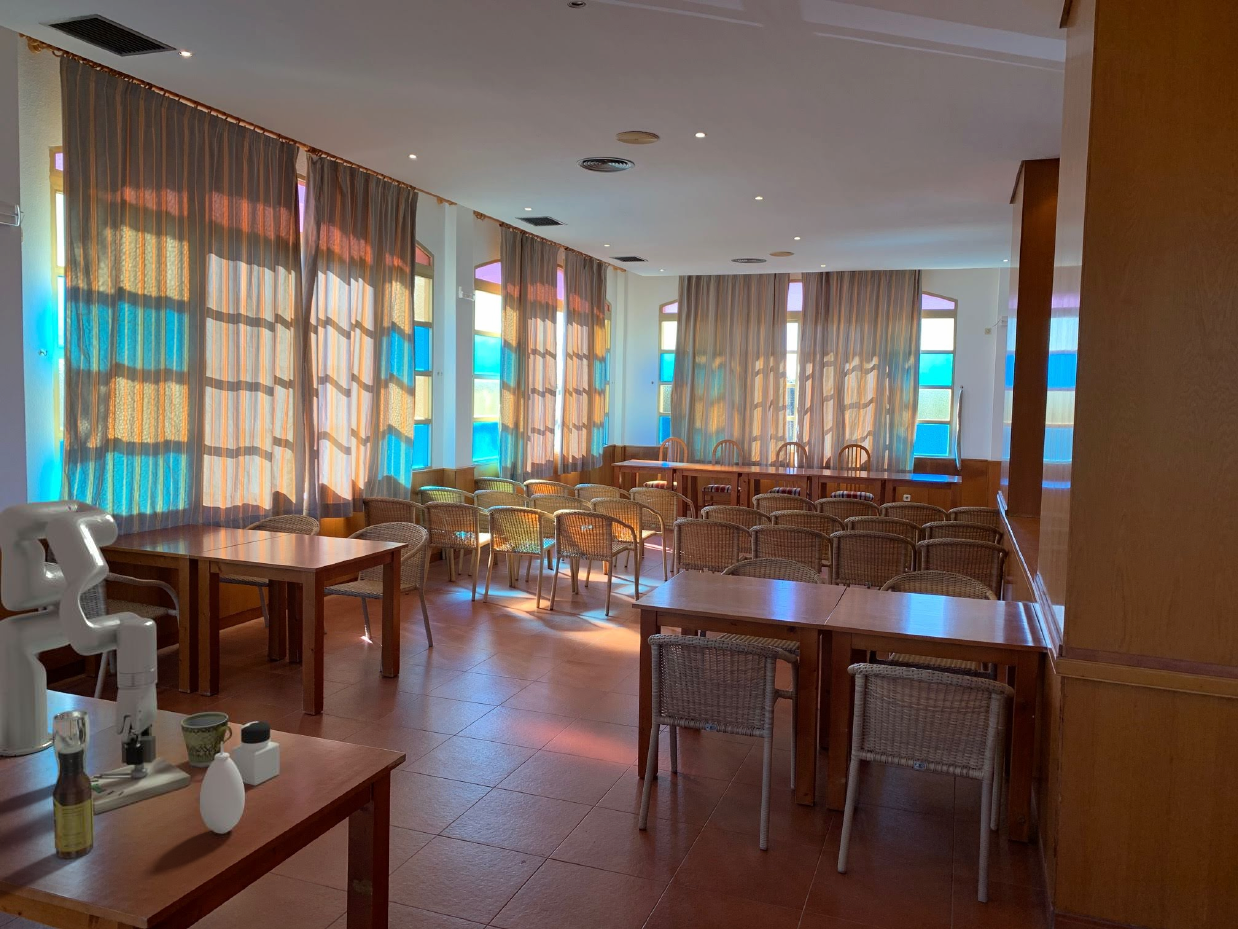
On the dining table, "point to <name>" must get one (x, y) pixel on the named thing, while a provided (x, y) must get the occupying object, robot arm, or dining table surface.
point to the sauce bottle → (73, 805)
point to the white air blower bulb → (222, 794)
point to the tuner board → (135, 785)
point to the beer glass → (71, 732)
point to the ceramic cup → (204, 736)
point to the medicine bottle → (256, 754)
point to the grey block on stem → (148, 757)
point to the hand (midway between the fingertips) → (138, 759)
